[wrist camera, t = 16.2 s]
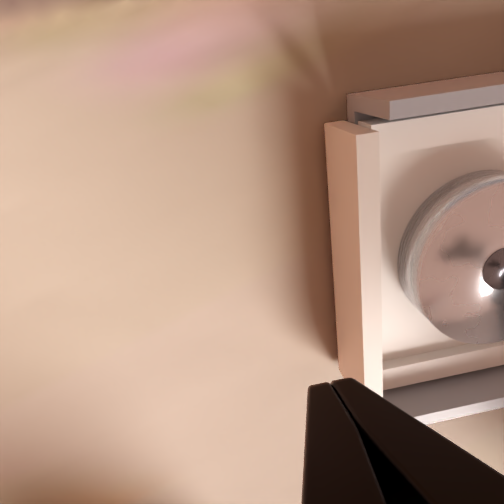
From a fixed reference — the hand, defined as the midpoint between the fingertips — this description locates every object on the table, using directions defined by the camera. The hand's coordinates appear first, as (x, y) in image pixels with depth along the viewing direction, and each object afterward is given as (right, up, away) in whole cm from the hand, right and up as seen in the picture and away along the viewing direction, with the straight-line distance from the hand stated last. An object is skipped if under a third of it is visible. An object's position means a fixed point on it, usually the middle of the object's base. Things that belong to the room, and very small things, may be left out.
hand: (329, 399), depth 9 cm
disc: (+8, +3, +11) cm, 14 cm away
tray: (+8, +3, +13) cm, 15 cm away
